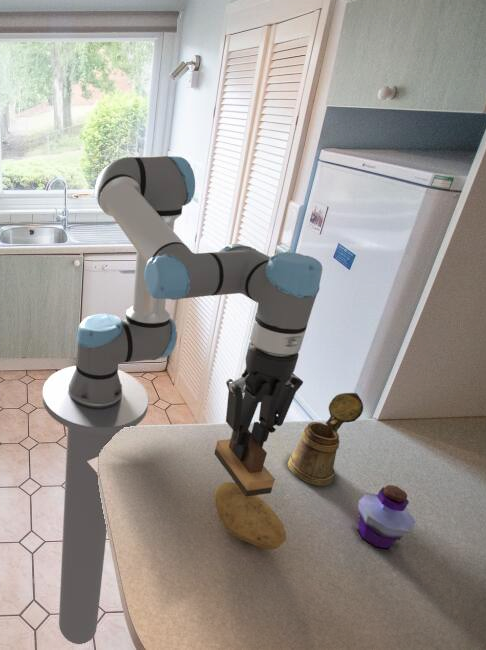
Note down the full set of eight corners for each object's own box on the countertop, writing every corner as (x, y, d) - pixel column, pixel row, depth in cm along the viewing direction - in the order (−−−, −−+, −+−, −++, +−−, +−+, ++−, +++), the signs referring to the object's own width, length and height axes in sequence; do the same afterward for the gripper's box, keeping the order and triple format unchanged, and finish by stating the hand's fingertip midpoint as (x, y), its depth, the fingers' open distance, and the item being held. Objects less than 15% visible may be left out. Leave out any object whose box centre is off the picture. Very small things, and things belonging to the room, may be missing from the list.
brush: (214, 454, 92) (221, 422, 88) (236, 451, 92) (244, 419, 89) (245, 496, 82) (255, 463, 78) (270, 493, 82) (281, 460, 79)
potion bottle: (400, 530, 88) (423, 485, 82) (404, 566, 81) (430, 519, 76) (348, 510, 92) (366, 466, 87) (348, 543, 85) (368, 496, 80)
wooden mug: (353, 468, 102) (379, 404, 94) (316, 491, 96) (342, 424, 88) (314, 444, 109) (336, 382, 101) (278, 464, 103) (299, 399, 96)
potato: (256, 573, 80) (266, 542, 76) (198, 513, 91) (205, 484, 88) (294, 552, 83) (305, 522, 80) (234, 496, 95) (241, 468, 91)
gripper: (244, 362, 71) (218, 474, 81) (332, 354, 73) (296, 464, 83) (219, 339, 77) (197, 445, 87) (300, 332, 80) (270, 436, 90)
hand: (245, 454), depth 85 cm, fingers closed on brush, 2 cm apart
